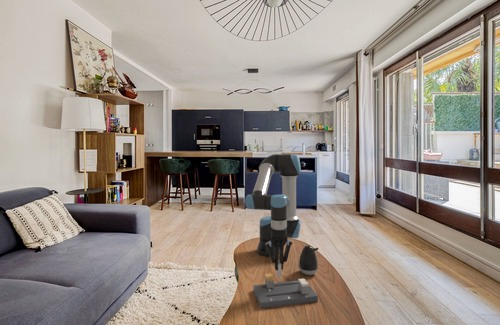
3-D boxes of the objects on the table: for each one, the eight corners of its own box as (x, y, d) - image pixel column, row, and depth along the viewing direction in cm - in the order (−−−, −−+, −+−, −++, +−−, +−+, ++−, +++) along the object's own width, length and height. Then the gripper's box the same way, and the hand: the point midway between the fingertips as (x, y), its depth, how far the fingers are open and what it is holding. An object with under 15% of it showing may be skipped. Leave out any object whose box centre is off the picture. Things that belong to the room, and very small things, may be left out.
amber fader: (265, 283, 128) (265, 274, 128) (271, 282, 128) (271, 273, 128) (267, 288, 123) (267, 278, 123) (274, 288, 124) (274, 278, 123)
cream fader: (298, 288, 123) (298, 279, 123) (304, 288, 123) (304, 278, 123) (302, 294, 118) (302, 284, 118) (308, 293, 118) (308, 283, 118)
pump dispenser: (318, 278, 139) (319, 249, 138) (298, 276, 141) (298, 248, 140) (317, 269, 149) (318, 243, 148) (298, 268, 151) (299, 241, 150)
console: (253, 290, 127) (253, 285, 127) (304, 284, 132) (304, 279, 132) (260, 308, 112) (260, 302, 112) (317, 301, 117) (317, 295, 117)
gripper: (267, 231, 121) (267, 281, 122) (294, 229, 123) (294, 278, 125) (263, 226, 128) (263, 273, 129) (289, 224, 131) (289, 271, 132)
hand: (278, 276), depth 127 cm, fingers closed
